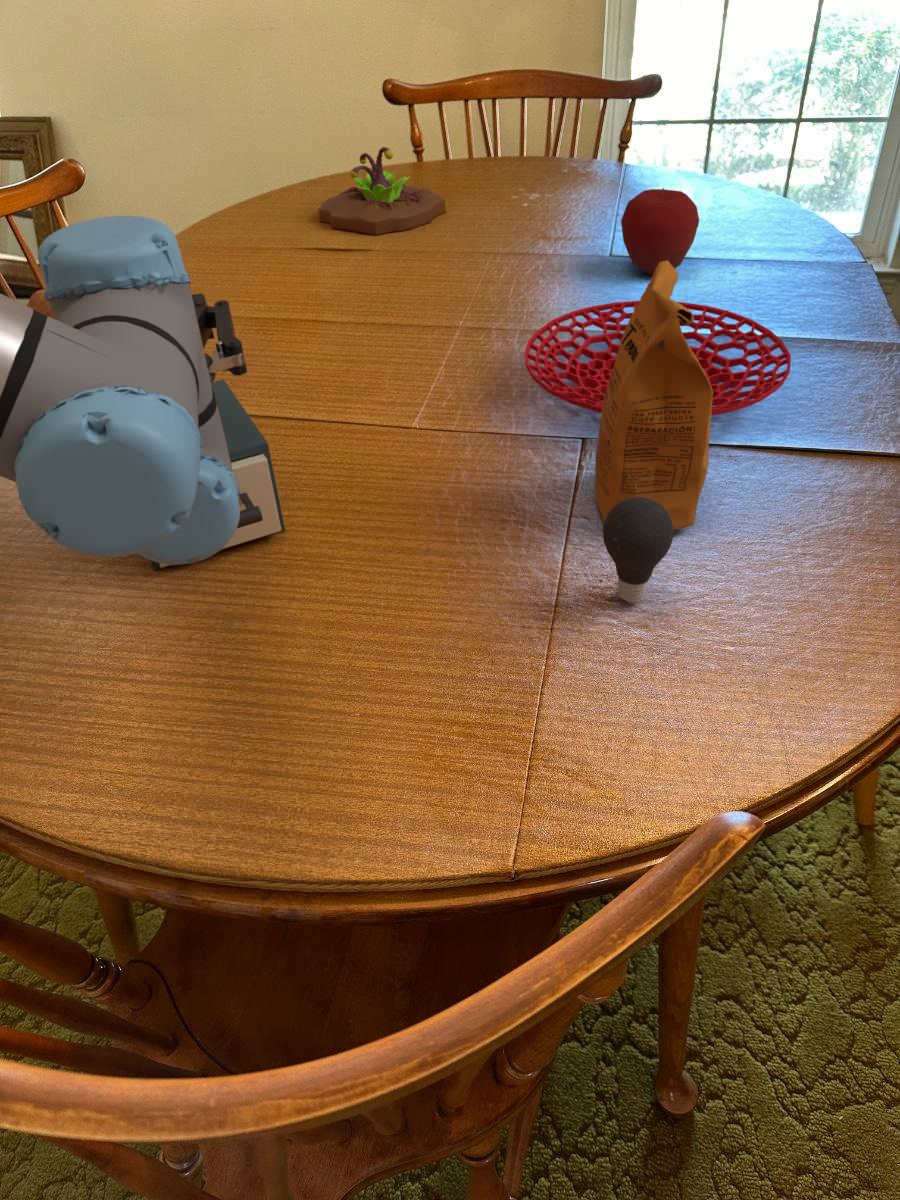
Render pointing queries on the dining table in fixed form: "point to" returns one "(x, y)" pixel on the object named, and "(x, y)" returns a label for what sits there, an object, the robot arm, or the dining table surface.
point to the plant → (380, 202)
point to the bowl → (726, 400)
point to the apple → (659, 228)
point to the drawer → (253, 501)
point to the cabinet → (239, 439)
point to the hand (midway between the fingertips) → (146, 296)
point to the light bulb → (637, 543)
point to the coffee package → (655, 411)
